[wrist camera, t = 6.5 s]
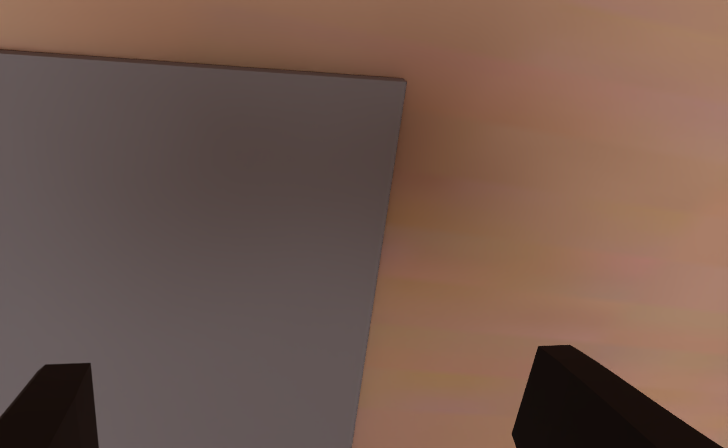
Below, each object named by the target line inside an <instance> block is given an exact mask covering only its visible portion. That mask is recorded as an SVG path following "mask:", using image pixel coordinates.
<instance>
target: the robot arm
mask: <svg viewBox="0 0 728 448" xmlns="http://www.w3.org/2000/svg"><path fill="white" fill-rule="evenodd" d="M512 436H513V439H514V442H515V445H516V448H723V447H721V446H720V445H718V444H717V443H715V442H714V441H712V440H711V439H709V438H708V437H706V436H705V435H703V434H701V433H700V432H698V431H697V430H695V429H694V428H692V427H691V426H689V425H688V424H686V423H685V422H684V421H682V420H681V419H679V418H678V417H676V416H675V415H673V414H672V413H670V412H669V411H667V410H666V409H664V408H663V407H662V406H660V405H659V404H657V403H656V402H654V401H653V400H651V399H650V398H649V397H647V396H646V395H644V394H643V393H641V392H640V391H639V390H637V389H636V388H634V387H633V386H631V385H630V384H628V383H627V382H626V381H624V380H623V379H621V378H620V377H618V376H617V375H615V374H614V373H613V372H611V371H610V370H608V369H607V368H605V367H604V366H602V365H601V364H599V363H598V362H596V361H595V360H593V359H592V358H590V357H589V356H587V355H586V354H584V353H582V352H581V351H579V350H578V349H576V348H574V347H573V346H571V345H555V346H538V349H537V352H536V355H535V359H534V362H533V365H532V369H531V372H530V375H529V379H528V382H527V385H526V388H525V392H524V395H523V398H522V402H521V405H520V408H519V412H518V415H517V418H516V421H515V425H514V428H513V431H512ZM0 448H99V444H98V433H97V423H96V412H95V402H94V391H93V381H92V370H91V363H70V364H45V365H44V366H43V367H42V368H41V369H39V370H38V371H37V372H36V374H35V375H34V376H33V377H32V379H31V380H30V381H29V382H28V384H27V385H26V386H25V387H24V388H23V390H22V391H21V392H20V393H19V395H18V396H17V397H16V398H15V399H14V401H13V402H12V403H11V404H10V406H9V407H8V408H7V409H6V410H5V412H4V413H3V414H2V415H1V416H0Z"/></svg>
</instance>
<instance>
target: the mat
mask: <svg viewBox="0 0 728 448" xmlns="http://www.w3.org/2000/svg"><path fill="white" fill-rule="evenodd" d="M406 84H407V82H406V81H405V80H404V79H403V78H389V77H375V76H361V75H347V74H333V73H319V72H305V71H291V70H277V69H263V68H249V67H235V66H221V65H207V64H193V63H179V62H165V61H151V60H137V59H123V58H109V57H95V56H81V55H67V54H53V53H39V52H25V51H11V50H0V416H1V415H2V414H3V413H4V412H5V410H6V409H7V408H8V407H9V406H10V404H11V403H12V402H13V401H14V399H15V398H16V397H17V396H18V395H19V393H20V392H21V391H22V390H23V388H24V387H25V386H26V385H27V384H28V382H29V381H30V380H31V379H32V377H33V376H34V375H35V374H36V372H37V371H38V370H39V369H41V368H42V367H43V366H44V365H45V364H70V363H91V370H92V381H93V391H94V402H95V412H96V423H97V433H98V444H99V448H352V442H353V435H354V428H355V422H356V415H357V409H358V402H359V395H360V389H361V382H362V376H363V369H364V362H365V356H366V349H367V342H368V336H369V329H370V323H371V316H372V309H373V303H374V296H375V289H376V283H377V276H378V270H379V263H380V256H381V250H382V243H383V237H384V230H385V223H386V217H387V210H388V203H389V197H390V190H391V184H392V177H393V170H394V164H395V157H396V150H397V144H398V137H399V131H400V124H401V117H402V111H403V104H404V98H405V91H406Z"/></svg>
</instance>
